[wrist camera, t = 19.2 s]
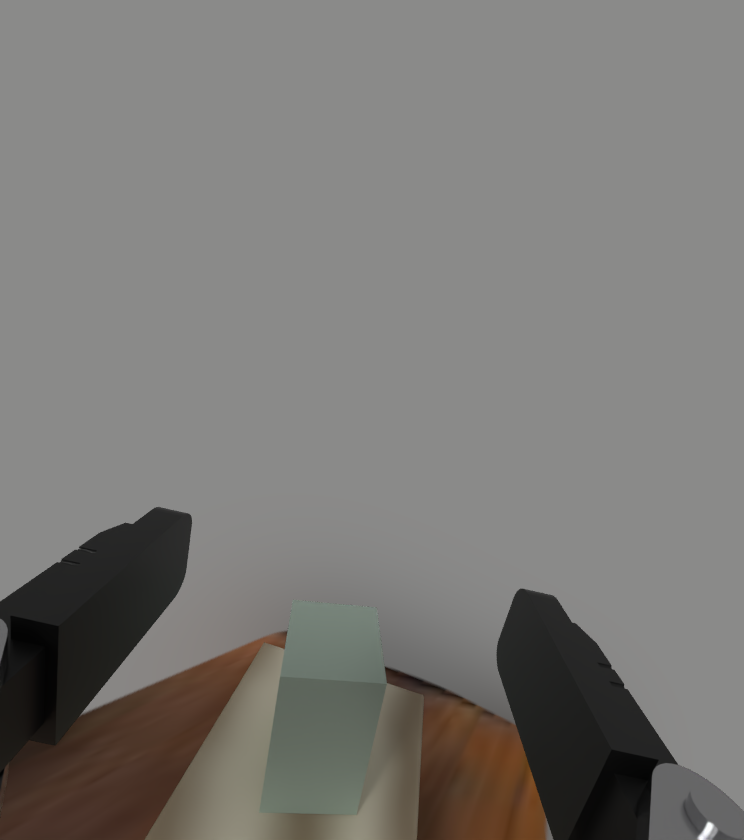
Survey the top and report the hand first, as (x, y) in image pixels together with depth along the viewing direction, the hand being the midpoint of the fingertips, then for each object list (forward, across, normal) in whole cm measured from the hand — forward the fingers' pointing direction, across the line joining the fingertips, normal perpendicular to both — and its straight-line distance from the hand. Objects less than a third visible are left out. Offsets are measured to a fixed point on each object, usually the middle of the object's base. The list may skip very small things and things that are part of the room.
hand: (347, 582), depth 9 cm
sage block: (+11, -1, +21) cm, 24 cm away
